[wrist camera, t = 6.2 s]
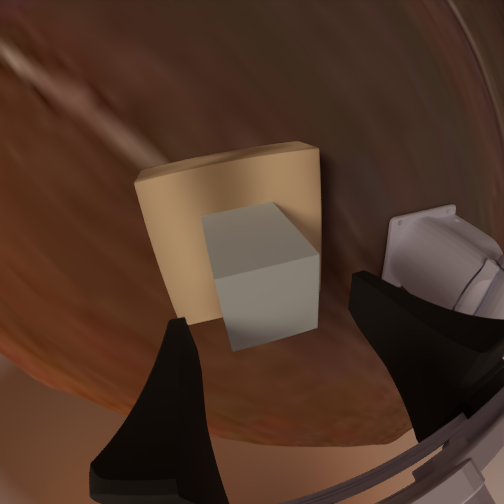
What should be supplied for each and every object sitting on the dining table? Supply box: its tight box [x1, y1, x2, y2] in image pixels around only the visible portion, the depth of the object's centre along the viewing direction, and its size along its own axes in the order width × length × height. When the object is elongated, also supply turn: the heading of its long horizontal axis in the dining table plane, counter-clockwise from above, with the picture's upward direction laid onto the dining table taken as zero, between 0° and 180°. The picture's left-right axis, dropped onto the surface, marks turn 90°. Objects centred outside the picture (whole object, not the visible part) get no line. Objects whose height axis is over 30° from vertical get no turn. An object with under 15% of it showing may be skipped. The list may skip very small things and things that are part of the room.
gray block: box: [200, 202, 320, 351], centre depth 14 cm, size 4×4×6 cm
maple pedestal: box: [134, 141, 321, 325], centre depth 18 cm, size 10×10×3 cm
